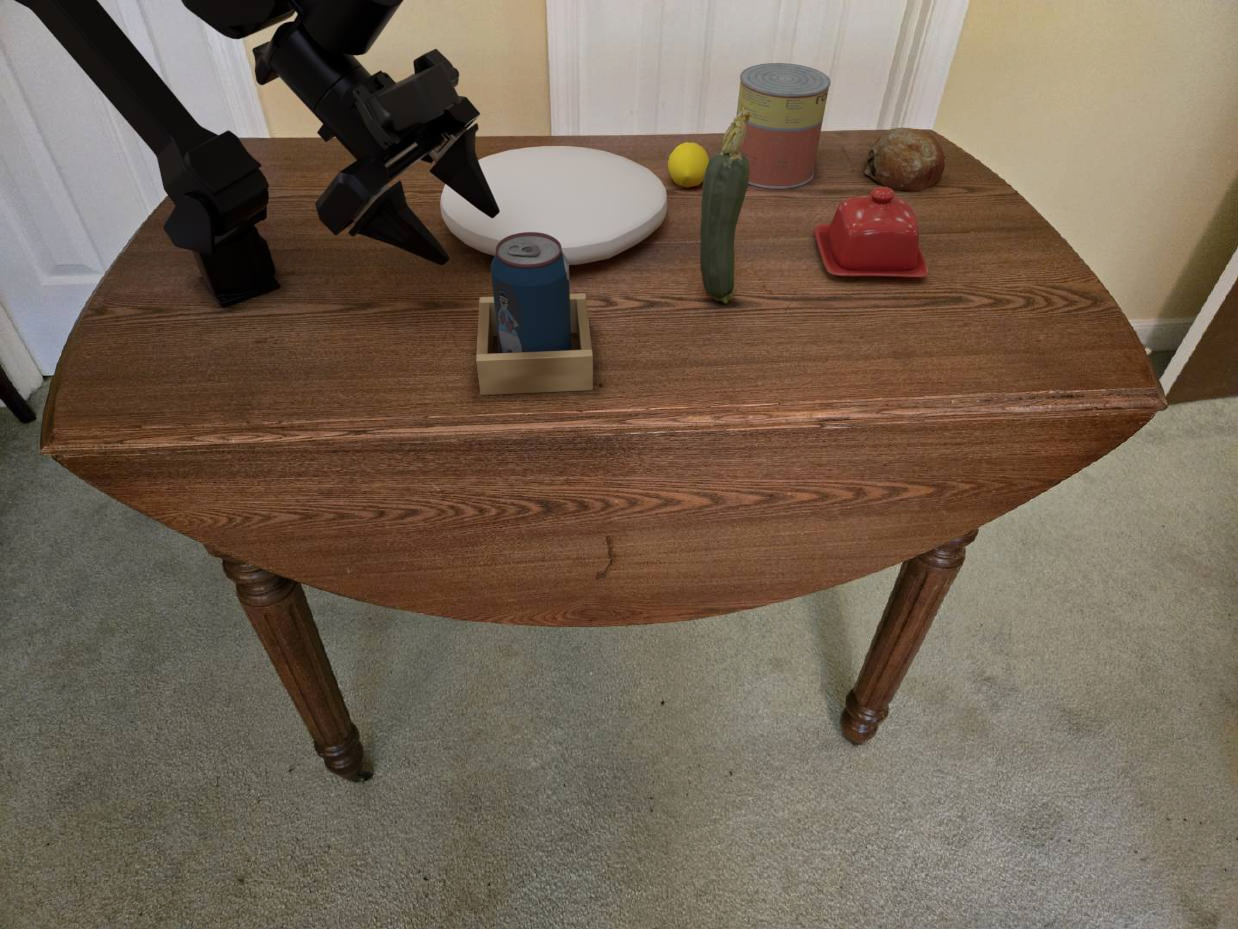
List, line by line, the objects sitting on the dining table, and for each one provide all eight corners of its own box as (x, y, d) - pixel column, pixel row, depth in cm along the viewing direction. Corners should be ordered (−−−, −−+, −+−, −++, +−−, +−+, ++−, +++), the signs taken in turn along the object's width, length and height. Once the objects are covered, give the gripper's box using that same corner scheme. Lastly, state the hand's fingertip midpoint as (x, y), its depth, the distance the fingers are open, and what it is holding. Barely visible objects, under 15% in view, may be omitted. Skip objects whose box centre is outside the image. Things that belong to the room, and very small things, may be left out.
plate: (484, 128, 108) (684, 149, 104) (487, 178, 112) (679, 199, 108) (398, 201, 86) (647, 231, 82) (405, 260, 90) (643, 290, 86)
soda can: (576, 341, 82) (573, 230, 73) (565, 384, 77) (561, 270, 68) (508, 336, 82) (497, 225, 74) (493, 378, 77) (480, 265, 69)
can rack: (480, 395, 75) (475, 360, 72) (483, 331, 83) (479, 296, 80) (593, 390, 76) (592, 355, 73) (586, 326, 83) (585, 293, 81)
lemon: (707, 197, 105) (711, 156, 101) (665, 195, 105) (667, 153, 101) (707, 174, 110) (711, 133, 106) (667, 171, 110) (670, 131, 106)
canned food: (826, 184, 108) (845, 90, 100) (746, 192, 106) (758, 97, 98) (794, 150, 116) (809, 60, 108) (718, 156, 114) (728, 65, 106)
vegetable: (700, 313, 86) (719, 120, 72) (686, 292, 89) (702, 102, 75) (739, 307, 86) (765, 115, 73) (725, 286, 89) (747, 98, 76)
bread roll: (856, 187, 116) (845, 139, 110) (922, 149, 115) (914, 98, 109) (893, 219, 109) (884, 169, 103) (963, 179, 108) (957, 126, 102)
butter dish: (824, 284, 90) (840, 212, 84) (810, 233, 98) (823, 164, 93) (929, 287, 90) (952, 215, 84) (905, 236, 98) (925, 167, 92)
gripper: (310, 62, 56) (471, 239, 61) (447, -7, 69) (571, 144, 73) (251, 156, 63) (398, 307, 68) (384, 78, 76) (501, 211, 81)
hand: (472, 237), depth 73 cm, fingers open, 9 cm apart
